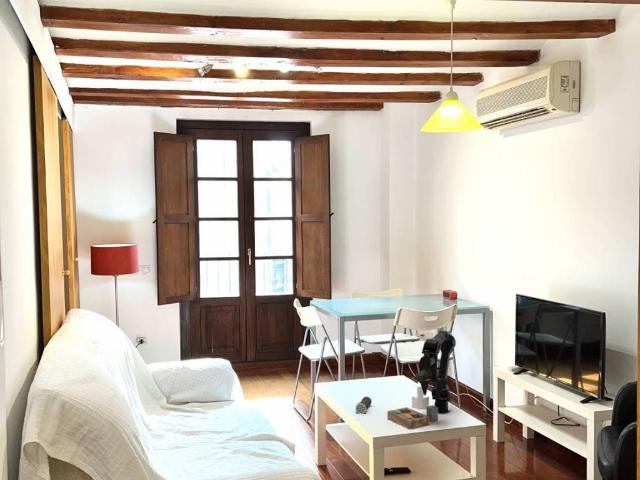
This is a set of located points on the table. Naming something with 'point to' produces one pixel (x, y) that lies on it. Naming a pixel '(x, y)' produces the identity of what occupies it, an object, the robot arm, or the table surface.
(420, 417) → the socket board
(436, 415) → the grey upright block
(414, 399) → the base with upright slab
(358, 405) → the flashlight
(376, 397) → the table surface
